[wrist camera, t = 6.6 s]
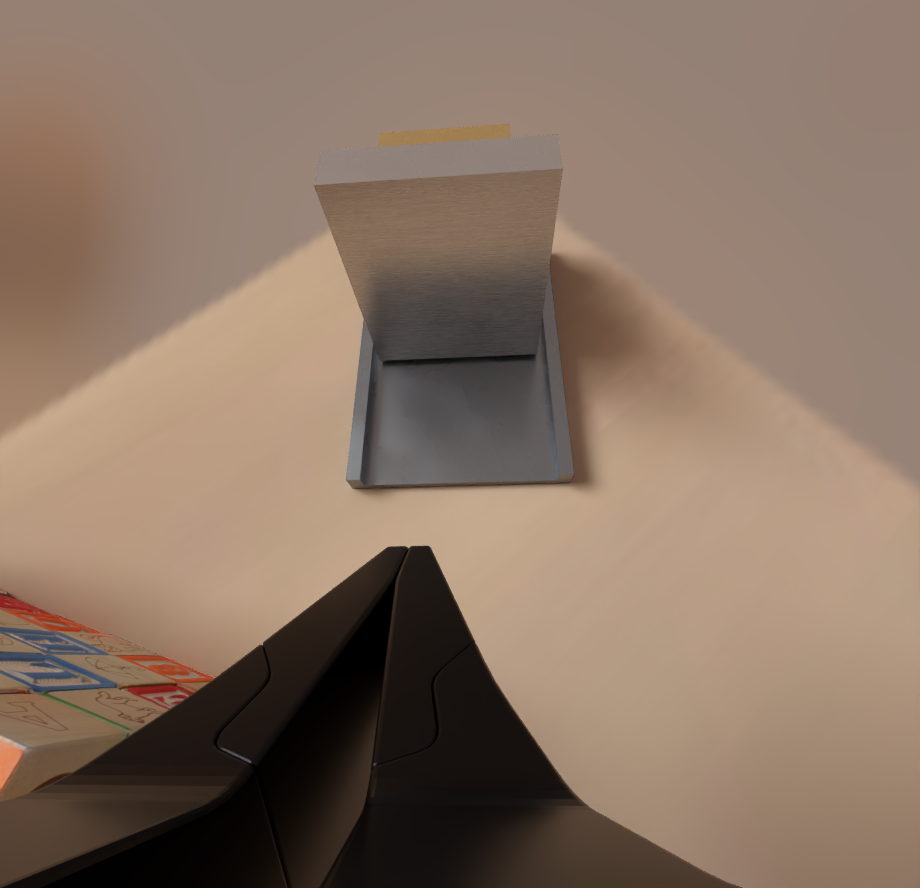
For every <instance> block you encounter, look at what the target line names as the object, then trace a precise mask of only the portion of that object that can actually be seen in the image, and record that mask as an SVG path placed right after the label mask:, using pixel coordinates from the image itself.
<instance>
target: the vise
mask: <svg viewBox="0 0 920 888" xmlns="http://www.w3.org/2000/svg"><path fill="white" fill-rule="evenodd" d="M573 475H574V469H573V460H572V452H571V444H570V435H569V427H568V418H567V410H566V402H565V393H564V385H563V376H562V368H561V360H560V351H559V343H558V334H557V326H556V318H555V309H554V301H553V292H552V284H551V276H550V267H549V273H548V280H547V287H546V294H545V302H544V309H543V316H542V323H541V331H540V338H539V345H538V352H537V354H527V355H504V356H480V357H457V358H434V359H411V360H388V361H380V360H379V357H378V355H377V352H376V349H375V347H374V344H373V342H372V339H371V336H370V334H369V331H368V328H367V326H366V323H365V320H364V321H363V330H362V340H361V349H360V358H359V367H358V376H357V385H356V394H355V403H354V412H353V421H352V430H351V439H350V448H349V457H348V466H347V475H346V481H347V482H348V483H349V484H350V486H351V487H352V488H384V487H421V486H459V485H496V484H533V483H570V482H571V480H572V477H573Z"/></svg>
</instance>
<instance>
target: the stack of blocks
mask: <svg viewBox="0 0 920 888" xmlns="http://www.w3.org/2000/svg"><path fill="white" fill-rule="evenodd" d="M213 679H214V678H212V677H209V676H207V675H204V674H202V673H200V672H197V671H195V670H193V669H190V668H188V667H186V666H183V665H181V664H178V663H176V662H174V661H172V660H169V659H167V658H165V657H161V656H159V655H157V654H155V653H153V652H151V651H149V650H147V649H144V648H142V647H140V646H137V645H135V644H133V643H130V642H128V641H125V640H123V639H120V638H118V637H116V636H113V635H111V634H101V633H99V632H97V631H94V630H91V629H89V628H86V627H84V626H82V625H79V624H77V623H75V622H72V621H70V620H67V619H65V618H63V617H61V616H56V615H52V614H49V613H47V612H45V611H43V610H40V609H38V608H36V607H33V606H31V605H28V604H25V603H24V602H21V601H18V600H16V599H14V598H11V597H8V596H7V593H6V592H4V591H2V590H0V802H2V801H6V800H10V799H13V798H16V797H19V796H22V795H25V794H28V793H31V792H33V791H36V790H38V789H40V788H43V787H45V786H47V785H50V784H52V783H54V782H56V781H58V780H60V779H61V778H63V777H65V776H67V775H69V774H71V773H72V772H74V771H76V770H77V769H79V768H80V767H82V766H84V765H85V764H87V763H88V762H90V761H92V760H93V759H95V758H96V757H98V756H99V755H101V754H102V753H104V752H105V751H107V750H108V749H110V748H111V747H113V746H114V745H116V744H117V743H119V742H120V741H122V740H123V739H125V738H126V737H128V736H129V735H131V734H133V733H134V732H136V731H137V730H139V729H140V728H142V727H143V726H145V725H146V724H148V723H149V722H151V721H152V720H154V719H155V718H157V717H158V716H160V715H161V714H163V713H164V712H166V711H167V710H169V709H170V708H172V707H174V706H175V705H177V704H178V703H180V702H181V701H183V700H184V699H185V698H187V697H188V696H190V695H191V694H193V693H194V692H196V691H197V690H199V689H200V688H202V687H203V686H205V685H206V684H207V683H209V682H210V681H212V680H213Z"/></svg>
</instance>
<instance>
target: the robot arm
mask: <svg viewBox="0 0 920 888" xmlns="http://www.w3.org/2000/svg"><path fill="white" fill-rule="evenodd" d="M0 888H742V887H739V886H736V885H733V884H730V883H727V882H725V881H723V880H721V879H719V878H717V877H715V876H713V875H711V874H709V873H707V872H705V871H703V870H701V869H699V868H697V867H696V866H694V865H692V864H690V863H688V862H687V861H685V860H683V859H681V858H679V857H678V856H676V855H674V854H672V853H670V852H669V851H667V850H665V849H663V848H661V847H660V846H658V845H656V844H654V843H652V842H651V841H649V840H647V839H645V838H643V837H642V836H640V835H638V834H636V833H634V832H633V831H631V830H629V829H627V828H625V827H624V826H622V825H620V824H618V823H616V822H615V821H613V820H611V819H609V818H607V817H606V816H604V815H602V814H600V813H598V812H596V811H595V810H593V809H592V808H590V807H589V806H588V805H587V804H585V803H584V802H583V801H582V800H581V799H580V798H579V797H578V796H577V795H576V794H575V793H574V792H573V791H572V790H571V789H570V788H569V786H568V785H567V784H566V783H565V781H564V780H563V779H562V777H561V776H560V775H559V773H558V772H557V771H556V769H555V768H554V766H553V765H552V764H551V762H550V761H549V759H548V758H547V756H546V755H545V753H544V752H543V751H542V749H541V748H540V746H539V745H538V743H537V742H536V741H535V739H534V738H533V736H532V735H531V733H530V732H529V730H528V729H527V728H526V726H525V725H524V723H523V722H522V720H521V719H520V718H519V716H518V715H517V713H516V712H515V710H514V709H513V708H512V706H511V705H510V703H509V702H508V700H507V698H506V697H505V695H504V694H503V692H502V691H501V689H500V687H499V686H498V684H497V683H496V681H495V679H494V678H493V676H492V674H491V672H490V670H489V668H488V666H487V664H486V663H485V661H484V659H483V657H482V655H481V652H480V650H479V648H478V646H477V644H475V640H474V638H473V636H472V634H471V632H470V630H469V628H468V625H467V623H466V621H465V619H464V617H463V615H462V613H461V611H460V609H459V606H458V604H457V602H456V600H455V598H454V596H453V594H452V592H451V589H450V587H449V585H448V583H447V581H446V579H445V577H444V575H443V573H442V570H441V568H440V566H439V564H438V562H437V560H436V558H435V556H434V553H433V551H432V549H431V548H430V547H429V546H411V547H410V548H409V549H408V547H405V546H396V547H387V548H386V549H384V550H383V551H382V552H380V553H379V554H378V555H376V556H375V557H374V558H373V559H371V560H370V561H369V562H367V563H366V564H365V565H363V566H362V567H361V568H360V569H358V570H357V571H356V572H354V573H353V574H352V575H350V576H349V577H348V578H346V579H345V580H344V581H343V582H341V583H340V584H339V585H337V586H336V587H335V588H333V589H332V590H331V591H330V592H328V593H327V594H326V595H324V596H323V597H322V598H320V599H319V600H318V601H316V602H315V603H314V604H313V605H311V606H310V607H309V608H307V609H306V610H305V611H303V612H302V613H301V614H300V615H298V616H297V617H296V618H294V619H293V620H292V621H290V622H289V623H288V624H286V625H285V626H284V627H283V628H281V629H280V630H279V631H277V632H276V633H275V634H273V635H272V636H271V637H269V638H268V639H267V640H266V641H264V643H263V645H259V646H258V647H256V648H255V649H254V650H252V651H251V652H250V653H248V654H247V655H246V656H244V657H243V658H242V659H241V660H239V661H238V662H236V663H235V664H234V665H232V666H231V667H230V668H228V669H227V670H226V671H224V672H223V673H221V674H220V675H219V676H217V677H216V678H215V679H213V680H212V681H210V682H209V683H207V684H206V685H205V686H203V687H202V688H200V689H199V690H197V691H196V692H194V693H193V694H191V695H190V696H188V697H187V698H185V699H184V700H183V701H181V702H180V703H178V704H177V705H175V706H174V707H172V708H170V709H169V710H167V711H166V712H164V713H163V714H161V715H160V716H158V717H157V718H155V719H154V720H152V721H151V722H149V723H148V724H146V725H145V726H143V727H142V728H140V729H139V730H137V731H136V732H134V733H133V734H131V735H129V736H128V737H126V738H125V739H123V740H122V741H120V742H119V743H117V744H116V745H114V746H113V747H111V748H110V749H108V750H107V751H105V752H104V753H102V754H101V755H99V756H98V757H96V758H95V759H93V760H92V761H90V762H88V763H87V764H85V765H84V766H82V767H80V768H79V769H77V770H76V771H74V772H72V773H71V774H69V775H67V776H65V777H63V778H61V779H60V780H58V781H56V782H54V783H52V784H50V785H47V786H45V787H43V788H40V789H38V790H36V791H33V792H31V793H28V794H25V795H22V796H19V797H16V798H13V799H10V800H6V801H2V802H0Z"/></svg>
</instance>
